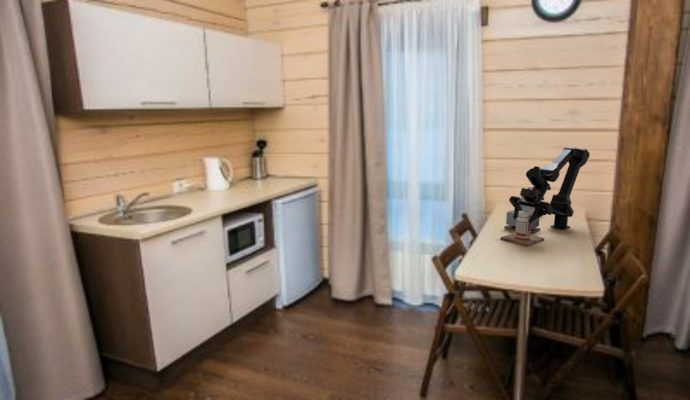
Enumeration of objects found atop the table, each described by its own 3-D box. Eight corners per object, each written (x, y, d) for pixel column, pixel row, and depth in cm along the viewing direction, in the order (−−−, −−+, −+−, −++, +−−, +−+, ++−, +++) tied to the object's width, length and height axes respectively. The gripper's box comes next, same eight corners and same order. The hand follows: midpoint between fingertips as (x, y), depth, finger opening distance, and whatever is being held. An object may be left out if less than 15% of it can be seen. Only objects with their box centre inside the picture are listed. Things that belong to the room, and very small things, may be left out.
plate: (517, 233, 211) (517, 231, 210) (544, 240, 200) (544, 238, 200) (500, 239, 203) (500, 237, 203) (527, 246, 193) (527, 244, 193)
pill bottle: (526, 235, 205) (528, 210, 203) (532, 239, 199) (535, 213, 197) (512, 235, 204) (515, 210, 202) (518, 239, 198) (521, 213, 196)
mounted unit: (515, 224, 225) (516, 208, 223) (540, 230, 214) (541, 213, 213) (504, 228, 219) (505, 212, 218) (529, 234, 209) (530, 217, 207)
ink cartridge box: (539, 214, 243) (540, 187, 240) (541, 216, 238) (543, 189, 234) (519, 213, 245) (521, 186, 242) (521, 216, 240) (522, 189, 236)
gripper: (512, 178, 206) (495, 206, 202) (551, 184, 191) (533, 214, 187) (522, 192, 212) (505, 220, 208) (560, 199, 197) (543, 229, 193)
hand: (521, 220), depth 199 cm, fingers open, 7 cm apart
